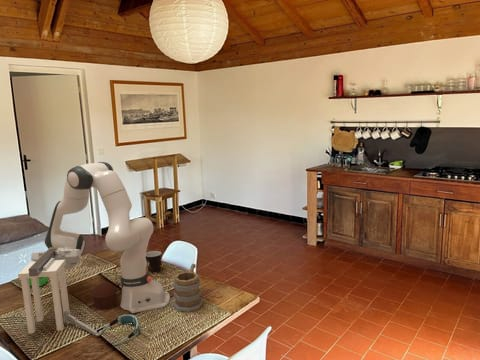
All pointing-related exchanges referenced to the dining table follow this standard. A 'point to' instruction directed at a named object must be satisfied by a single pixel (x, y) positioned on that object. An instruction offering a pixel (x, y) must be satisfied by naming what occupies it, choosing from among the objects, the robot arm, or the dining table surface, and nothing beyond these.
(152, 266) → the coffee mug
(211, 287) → the dining table surface
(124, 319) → the sunglasses
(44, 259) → the pin
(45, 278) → the fruit basket
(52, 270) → the pin stand
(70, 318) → the caliper
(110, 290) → the muffin
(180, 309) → the tankard
